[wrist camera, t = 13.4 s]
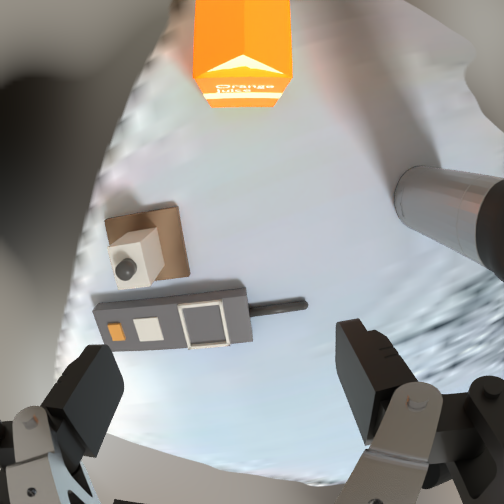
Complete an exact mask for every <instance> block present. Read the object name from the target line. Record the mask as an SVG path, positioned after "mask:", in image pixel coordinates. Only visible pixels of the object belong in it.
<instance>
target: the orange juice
mask: <svg viewBox="0 0 504 504" xmlns="http://www.w3.org/2000/svg"><path fill="white" fill-rule="evenodd" d="M193 78H195V81H196V82H197V84H198V86H199V87H200V89H201V91H202V92H203V95H204V97H205V98H206V99H207V101H208V102H209V104H210V106H211V108H214V107H273V106H274V105H275V103H276V102H277V100H278V99H279V98H280V97H281V95H282V94H283V91H284V90H285V88H286V86H287V85H288V83H289V82H290V80H291V79H292V78H293V77H292V45H291V21H290V1H289V0H196V7H195V27H194V53H193Z"/></svg>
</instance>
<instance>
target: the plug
mask: <svg viewBox="0 0 504 504" xmlns="http://www.w3.org/2000/svg"><path fill="white" fill-rule="evenodd" d="M107 250H108V254H109V258H110V262H111V265H112V269H113V273H114V276H115V280H116V284H117V287H118V290H124V289H133V288H141V287H150V286H151V285H152V283H153V282H154V280H155V279H156V277H157V276H158V274H159V273H160V271H161V270H162V268H163V267H164V265H165V264H164V259H163V255H162V250H161V245H160V241H159V236H158V231H157V227H155V228H149V229H143V230H137V231H132V232H128V233H126V234H125V235H123V236H122V237H121V238H119V239H118V240H116V241H115V242H114V243H112V244H111V245H110V246H108V247H107Z"/></svg>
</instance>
